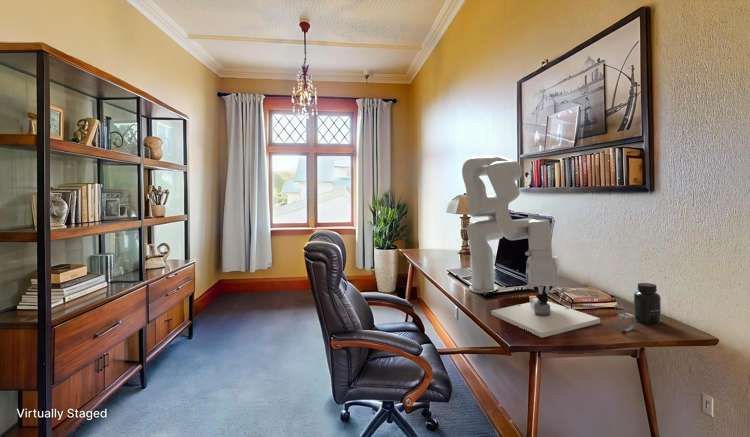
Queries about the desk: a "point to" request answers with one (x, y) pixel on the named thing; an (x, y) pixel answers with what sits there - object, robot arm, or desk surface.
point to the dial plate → (545, 319)
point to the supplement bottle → (647, 304)
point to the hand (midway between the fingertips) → (543, 303)
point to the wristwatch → (626, 316)
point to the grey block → (539, 306)
